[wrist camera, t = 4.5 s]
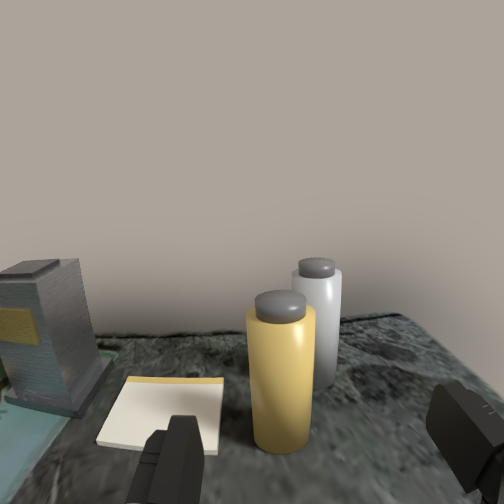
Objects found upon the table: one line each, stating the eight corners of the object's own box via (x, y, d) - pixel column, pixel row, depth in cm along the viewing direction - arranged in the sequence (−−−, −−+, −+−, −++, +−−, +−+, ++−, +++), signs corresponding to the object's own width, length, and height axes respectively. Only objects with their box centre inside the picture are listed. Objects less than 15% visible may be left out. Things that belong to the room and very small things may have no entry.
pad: (98, 445, 21) (95, 439, 21) (130, 381, 31) (128, 376, 30) (217, 455, 21) (216, 449, 21) (223, 382, 31) (223, 377, 30)
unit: (7, 402, 24) (-35, 282, 21) (47, 359, 33) (21, 256, 30) (80, 419, 24) (37, 281, 21) (114, 365, 33) (90, 251, 30)
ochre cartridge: (254, 456, 21) (244, 315, 18) (253, 419, 25) (244, 288, 22) (313, 451, 21) (322, 310, 18) (304, 415, 25) (308, 285, 22)
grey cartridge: (294, 392, 29) (295, 270, 26) (289, 367, 33) (288, 257, 30) (339, 386, 29) (348, 267, 26) (329, 363, 33) (334, 254, 30)
